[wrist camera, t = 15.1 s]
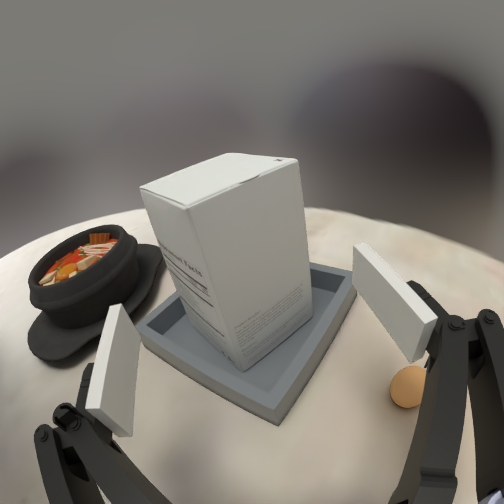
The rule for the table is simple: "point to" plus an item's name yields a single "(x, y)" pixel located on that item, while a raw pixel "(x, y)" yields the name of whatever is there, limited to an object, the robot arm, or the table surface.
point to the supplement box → (236, 250)
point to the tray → (266, 369)
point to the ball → (408, 386)
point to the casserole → (87, 287)
